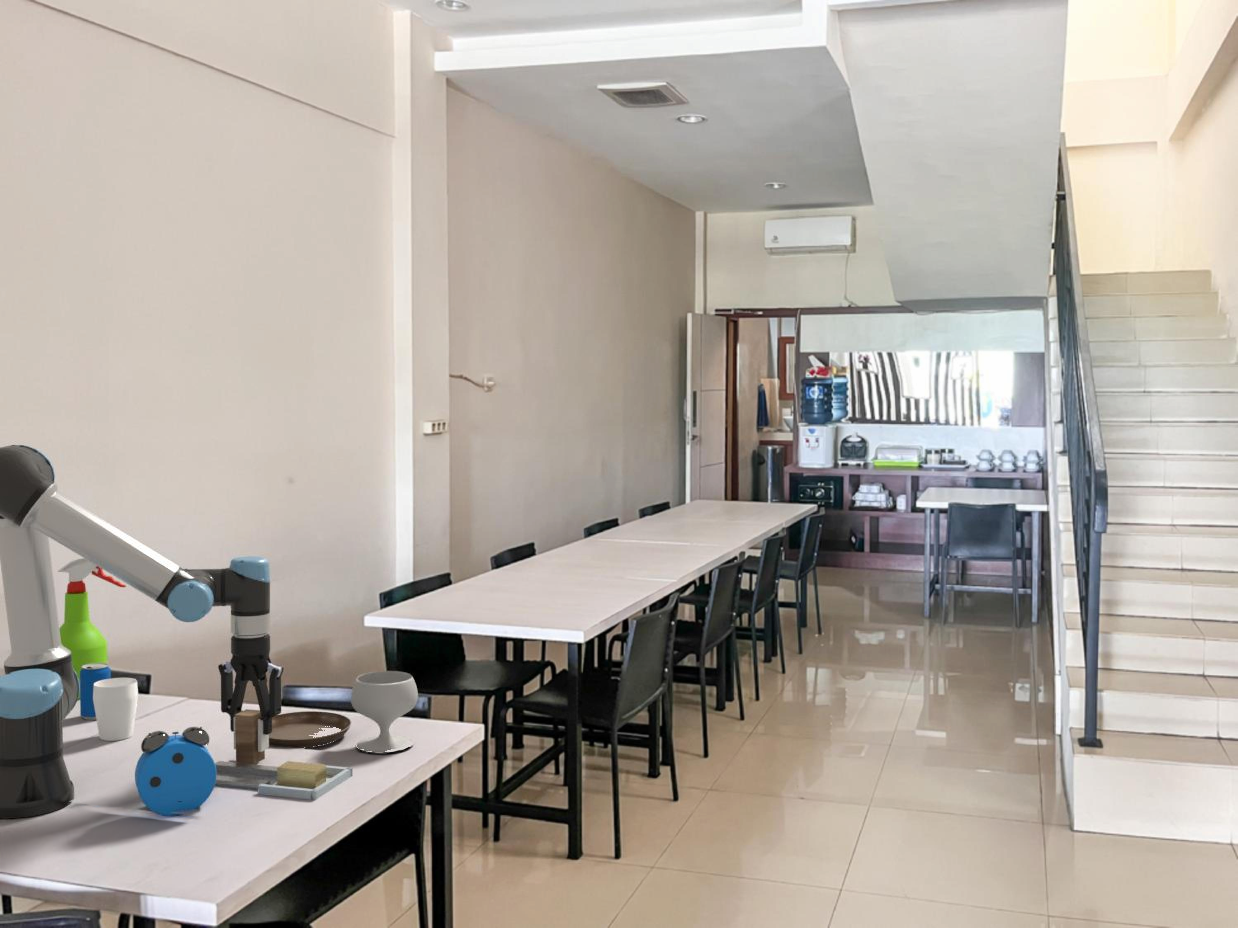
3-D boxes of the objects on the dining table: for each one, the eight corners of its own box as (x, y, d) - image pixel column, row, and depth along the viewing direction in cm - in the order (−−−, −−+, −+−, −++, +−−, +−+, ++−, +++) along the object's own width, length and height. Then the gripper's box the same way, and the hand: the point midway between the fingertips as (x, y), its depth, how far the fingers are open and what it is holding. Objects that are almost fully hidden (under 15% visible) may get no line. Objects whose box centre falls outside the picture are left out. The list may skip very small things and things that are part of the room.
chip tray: (315, 804, 207) (315, 791, 207) (258, 798, 210) (258, 785, 210) (352, 780, 221) (352, 767, 221) (297, 775, 224) (297, 762, 224)
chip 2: (315, 792, 213) (315, 771, 213) (296, 790, 214) (296, 769, 214) (326, 785, 217) (326, 764, 217) (307, 783, 218) (307, 762, 218)
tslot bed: (263, 794, 212) (263, 784, 212) (188, 786, 216) (188, 776, 216) (291, 778, 222) (291, 768, 222) (219, 770, 226) (219, 760, 226)
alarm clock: (211, 800, 209) (211, 720, 208) (217, 811, 204) (216, 728, 203) (134, 812, 203) (133, 729, 202) (138, 823, 197) (137, 738, 197)
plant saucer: (358, 747, 243) (358, 731, 243) (257, 757, 236) (257, 741, 236) (344, 721, 263) (344, 707, 262) (250, 730, 255) (250, 715, 255)
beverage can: (80, 714, 265) (79, 663, 265) (111, 711, 268) (110, 661, 267) (80, 721, 259) (79, 669, 259) (111, 718, 262) (110, 667, 261)
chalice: (431, 743, 246) (431, 674, 245) (387, 760, 234) (387, 688, 233) (382, 733, 253) (382, 666, 252) (336, 749, 241) (336, 679, 240)
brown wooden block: (253, 770, 227) (252, 716, 226) (236, 768, 228) (235, 714, 227) (264, 763, 231) (263, 710, 230) (247, 762, 232) (246, 709, 231)
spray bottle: (124, 696, 282) (122, 556, 280) (43, 702, 276) (41, 558, 274) (129, 683, 295) (127, 549, 293) (52, 688, 289) (50, 551, 287)
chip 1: (296, 790, 214) (295, 769, 214) (277, 788, 215) (276, 767, 215) (307, 783, 218) (306, 762, 218) (288, 781, 219) (288, 760, 219)
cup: (146, 731, 252) (145, 678, 252) (125, 743, 243) (124, 688, 243) (107, 729, 253) (107, 676, 253) (85, 741, 244) (84, 686, 244)
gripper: (300, 633, 230) (300, 746, 231) (222, 628, 234) (223, 739, 236) (280, 640, 223) (280, 757, 224) (200, 635, 227) (201, 750, 228)
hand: (251, 748), depth 230 cm, fingers open, 5 cm apart
